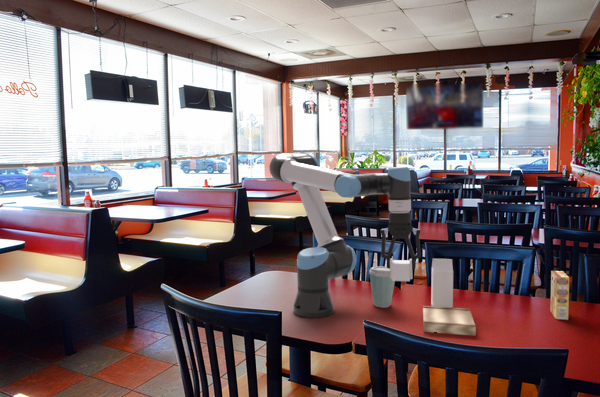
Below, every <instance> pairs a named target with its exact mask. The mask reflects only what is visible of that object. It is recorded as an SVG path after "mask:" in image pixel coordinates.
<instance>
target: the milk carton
mask: <svg viewBox="0 0 600 397" xmlns="http://www.w3.org/2000/svg"><path fill="white" fill-rule="evenodd" d="M453 268H454V267H453V259H451V258H432V262H431V284H430V286H431V288H430V289H431V292H430V293H431V294H430V298H431V299H430V300H431V302H430V304H431V305H430V306H433V307H449V308H454V305H453V304H454V269H453Z"/></svg>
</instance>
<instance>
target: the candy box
mask: <svg viewBox="0 0 600 397" xmlns="http://www.w3.org/2000/svg"><path fill="white" fill-rule="evenodd" d="M550 272H551V273H550V279H551V280H550V312H551V314H552V316H553V317H554V319H556V320H563V321H568V320H569V305H570V302H569V301H570V299H569V298H570V277H569V276H568V275H567V273H565V271H563V270H560V271H559V270H551V271H550Z"/></svg>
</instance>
